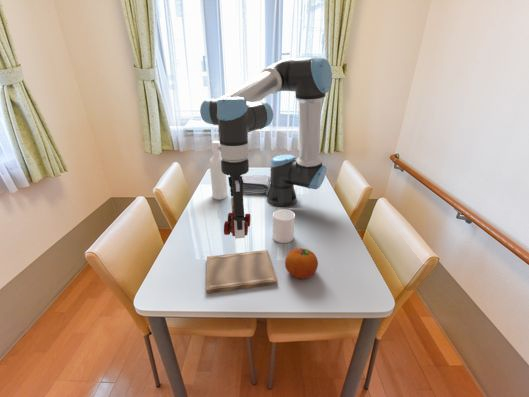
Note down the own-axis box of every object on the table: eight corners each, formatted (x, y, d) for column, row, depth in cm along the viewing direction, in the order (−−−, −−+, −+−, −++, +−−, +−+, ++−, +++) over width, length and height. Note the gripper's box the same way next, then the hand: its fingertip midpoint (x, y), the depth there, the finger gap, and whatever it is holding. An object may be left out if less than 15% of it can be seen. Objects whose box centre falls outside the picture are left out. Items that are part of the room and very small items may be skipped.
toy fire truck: (222, 240, 77) (219, 209, 72) (230, 219, 88) (229, 190, 83) (246, 242, 76) (245, 210, 72) (251, 220, 87) (250, 191, 83)
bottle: (230, 198, 140) (227, 142, 126) (216, 202, 136) (211, 144, 122) (223, 193, 145) (219, 138, 132) (210, 196, 142) (204, 141, 128)
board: (267, 253, 98) (267, 249, 97) (277, 284, 84) (277, 280, 83) (207, 260, 95) (207, 256, 94) (206, 293, 80) (206, 289, 80)
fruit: (294, 287, 83) (295, 267, 79) (279, 267, 91) (280, 248, 88) (323, 278, 87) (325, 258, 83) (306, 259, 95) (307, 240, 92)
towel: (269, 197, 142) (269, 183, 138) (235, 195, 143) (234, 182, 140) (271, 186, 155) (271, 173, 152) (240, 184, 157) (239, 172, 154)
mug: (292, 227, 114) (293, 205, 109) (294, 244, 103) (295, 220, 99) (272, 227, 114) (273, 205, 110) (272, 243, 104) (272, 220, 99)
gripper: (219, 147, 82) (224, 208, 92) (222, 174, 61) (227, 251, 70) (243, 146, 83) (245, 206, 93) (254, 172, 62) (255, 248, 71)
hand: (237, 225), depth 81 cm, fingers closed on toy fire truck, 12 cm apart
